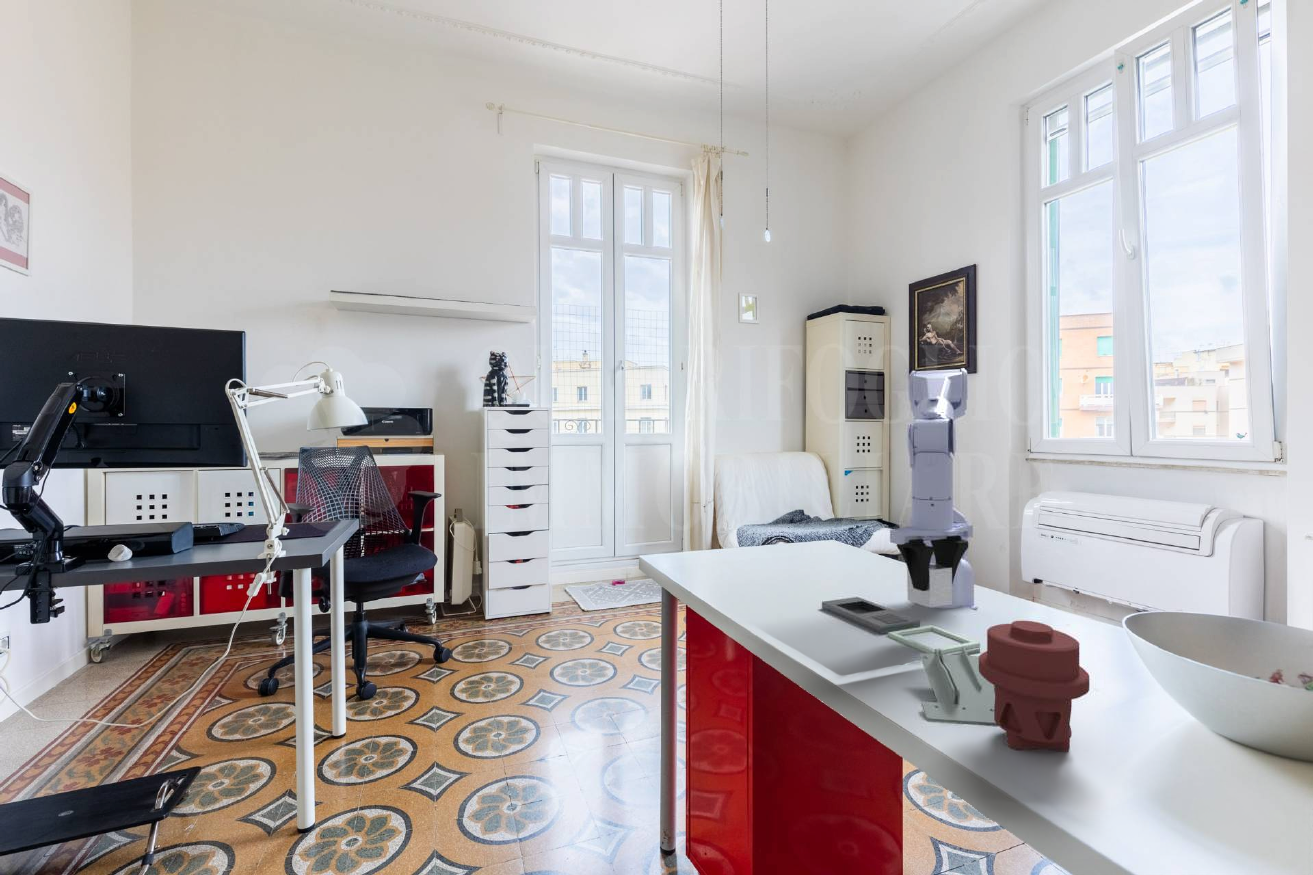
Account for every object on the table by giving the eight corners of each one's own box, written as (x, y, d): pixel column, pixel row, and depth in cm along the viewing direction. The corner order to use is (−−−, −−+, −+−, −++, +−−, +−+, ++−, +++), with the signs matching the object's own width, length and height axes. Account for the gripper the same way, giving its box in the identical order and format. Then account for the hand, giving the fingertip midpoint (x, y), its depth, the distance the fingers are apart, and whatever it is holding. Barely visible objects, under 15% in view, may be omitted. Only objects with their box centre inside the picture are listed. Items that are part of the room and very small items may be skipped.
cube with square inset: (929, 596, 96) (928, 561, 96) (952, 604, 92) (951, 567, 92) (907, 600, 94) (907, 564, 94) (929, 607, 90) (929, 570, 90)
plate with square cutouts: (857, 608, 113) (857, 596, 113) (920, 633, 99) (920, 619, 99) (821, 613, 110) (821, 601, 110) (881, 640, 96) (880, 626, 96)
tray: (932, 634, 98) (931, 625, 98) (980, 653, 90) (980, 642, 90) (888, 641, 95) (888, 632, 95) (933, 662, 87) (933, 651, 87)
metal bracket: (903, 636, 81) (1025, 642, 79) (900, 673, 83) (1019, 680, 80) (931, 714, 68) (1079, 724, 65) (927, 756, 70) (1072, 767, 67)
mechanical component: (1111, 753, 62) (1046, 776, 58) (1019, 712, 71) (957, 729, 67) (1112, 633, 62) (1046, 648, 58) (1019, 607, 71) (957, 618, 67)
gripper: (915, 503, 86) (915, 599, 86) (990, 498, 91) (990, 588, 91) (879, 498, 92) (880, 587, 93) (951, 493, 98) (951, 578, 98)
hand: (932, 587), depth 92 cm, fingers closed on cube with square inset, 4 cm apart
